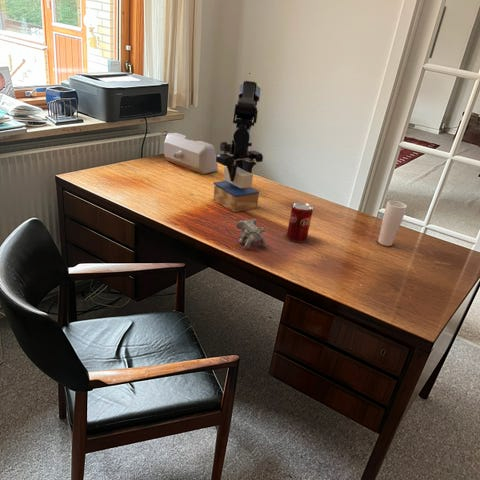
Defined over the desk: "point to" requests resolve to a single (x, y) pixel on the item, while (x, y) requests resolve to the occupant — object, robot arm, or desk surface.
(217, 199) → the storage box
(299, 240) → the soda can
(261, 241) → the gray elephant figurine
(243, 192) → the blue lid
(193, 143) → the tank
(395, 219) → the drinking glass
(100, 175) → the desk surface
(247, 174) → the case
